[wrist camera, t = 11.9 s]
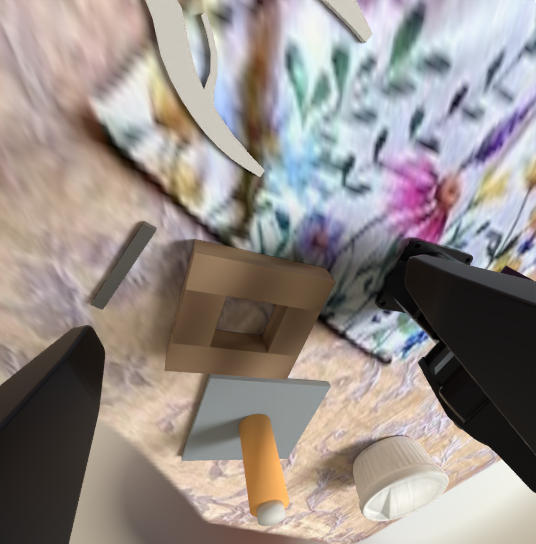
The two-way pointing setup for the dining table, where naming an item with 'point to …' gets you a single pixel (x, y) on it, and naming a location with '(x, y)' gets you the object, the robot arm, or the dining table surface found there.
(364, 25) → the pliers
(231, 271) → the brown square frame
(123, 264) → the strip
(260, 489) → the orange cylinder
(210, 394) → the rubber mat
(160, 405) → the dining table surface
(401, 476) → the ramekin
